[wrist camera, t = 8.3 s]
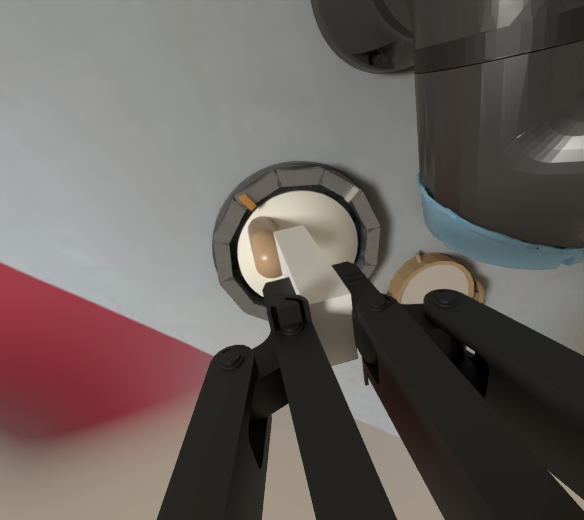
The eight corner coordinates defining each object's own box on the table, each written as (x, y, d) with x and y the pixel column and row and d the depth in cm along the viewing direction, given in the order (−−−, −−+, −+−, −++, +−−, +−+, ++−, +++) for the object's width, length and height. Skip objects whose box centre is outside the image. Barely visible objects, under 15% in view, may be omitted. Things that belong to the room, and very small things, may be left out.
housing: (326, 124, 37) (337, 127, 33) (394, 259, 46) (407, 271, 43) (176, 225, 38) (172, 237, 35) (270, 336, 47) (274, 354, 44)
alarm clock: (431, 244, 43) (514, 299, 46) (415, 234, 47) (492, 285, 51) (377, 312, 46) (459, 359, 49) (368, 296, 50) (443, 340, 54)
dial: (377, 229, 42) (418, 262, 33) (309, 316, 45) (330, 366, 37) (282, 163, 36) (302, 183, 28) (213, 268, 40) (212, 314, 31)
